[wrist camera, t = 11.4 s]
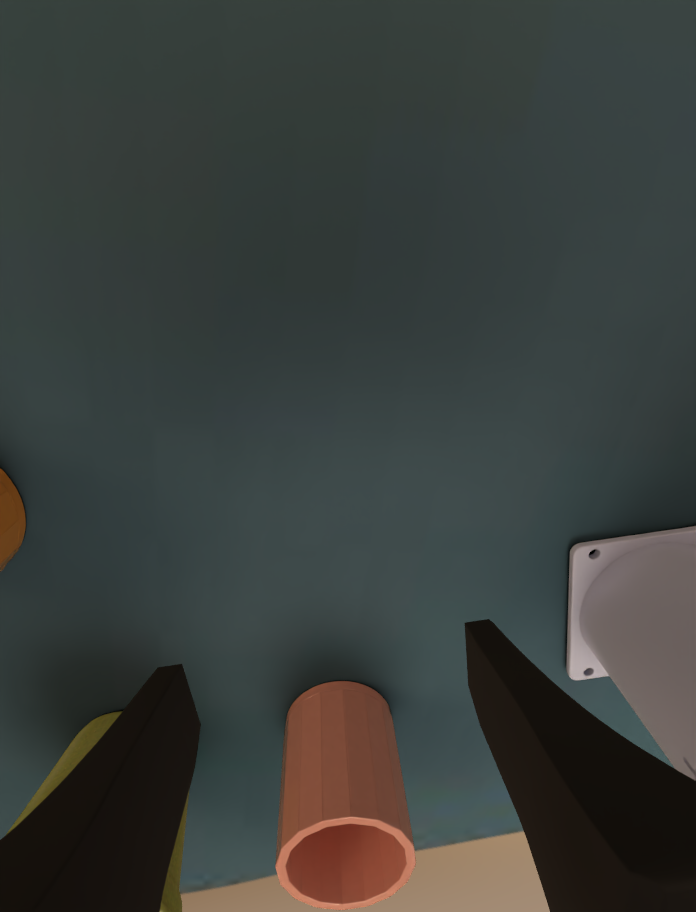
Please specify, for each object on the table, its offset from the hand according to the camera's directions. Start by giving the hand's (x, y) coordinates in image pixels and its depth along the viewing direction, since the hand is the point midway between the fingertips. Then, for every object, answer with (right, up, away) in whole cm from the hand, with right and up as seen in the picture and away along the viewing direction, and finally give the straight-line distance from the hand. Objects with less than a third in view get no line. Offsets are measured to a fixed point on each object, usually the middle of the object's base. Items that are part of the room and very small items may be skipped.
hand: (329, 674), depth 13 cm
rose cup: (0, -9, +14) cm, 17 cm away
